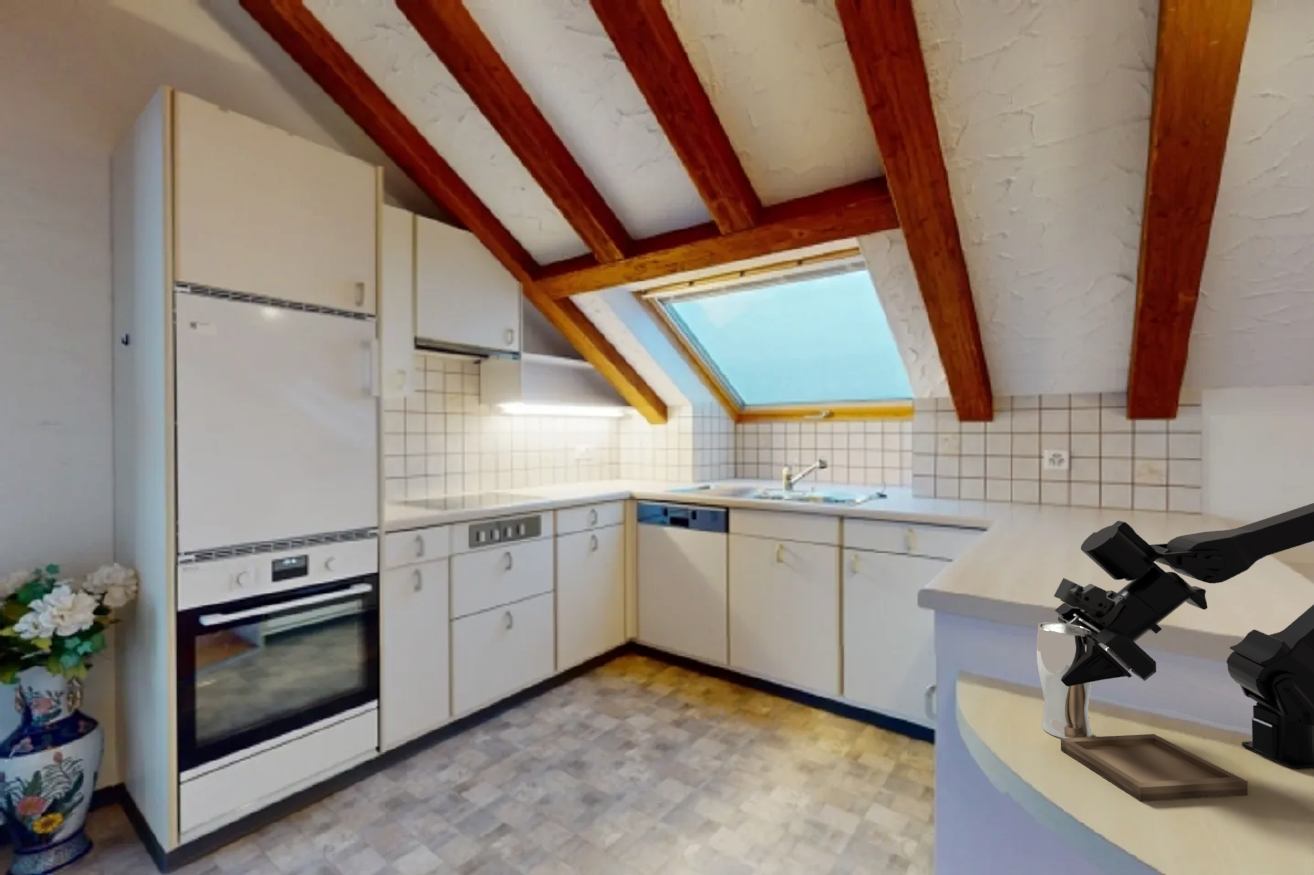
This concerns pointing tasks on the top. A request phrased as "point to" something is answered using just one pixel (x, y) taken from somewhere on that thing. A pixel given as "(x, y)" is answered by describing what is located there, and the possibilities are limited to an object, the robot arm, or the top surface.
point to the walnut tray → (1153, 767)
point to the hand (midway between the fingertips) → (1054, 674)
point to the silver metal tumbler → (1054, 660)
